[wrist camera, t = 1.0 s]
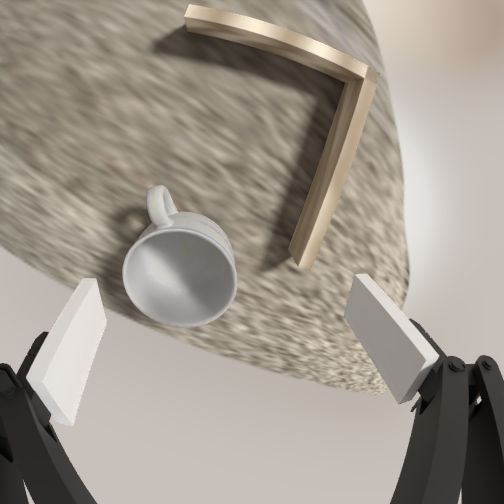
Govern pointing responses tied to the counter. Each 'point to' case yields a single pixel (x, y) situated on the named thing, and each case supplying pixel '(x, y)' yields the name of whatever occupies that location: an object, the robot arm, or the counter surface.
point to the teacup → (179, 266)
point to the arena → (344, 123)
